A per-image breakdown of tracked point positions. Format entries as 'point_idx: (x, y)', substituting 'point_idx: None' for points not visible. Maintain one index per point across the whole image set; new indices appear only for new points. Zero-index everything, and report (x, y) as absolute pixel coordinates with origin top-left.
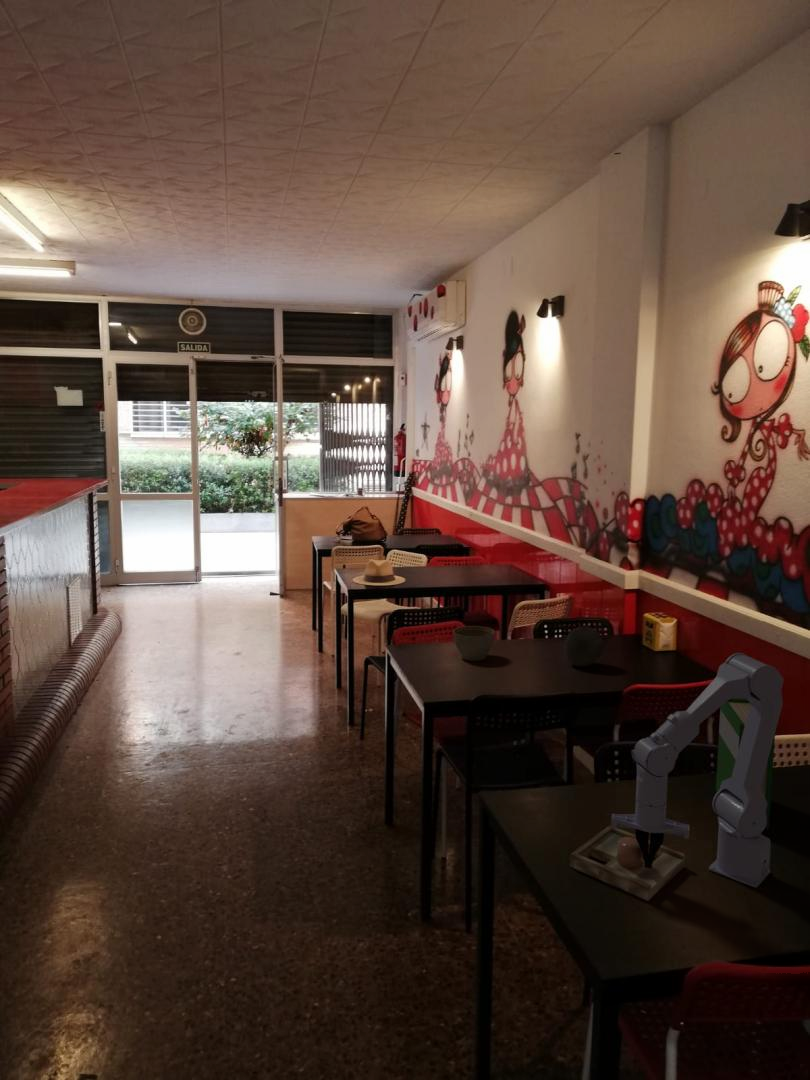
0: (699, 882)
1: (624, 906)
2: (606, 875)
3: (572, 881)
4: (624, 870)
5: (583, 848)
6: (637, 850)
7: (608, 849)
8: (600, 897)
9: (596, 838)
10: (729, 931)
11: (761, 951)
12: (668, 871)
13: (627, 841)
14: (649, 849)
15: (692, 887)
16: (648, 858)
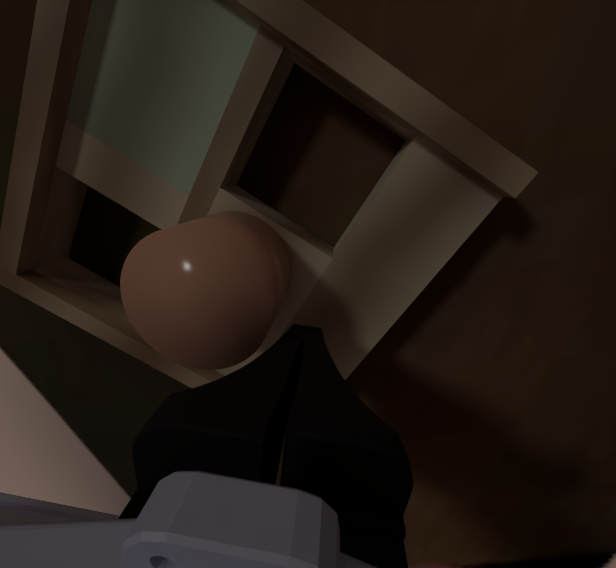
0: (518, 285)
1: None
2: None
3: (82, 342)
4: None
5: (21, 224)
6: (238, 360)
7: (133, 171)
8: None
9: (43, 98)
10: (505, 496)
11: (555, 547)
12: (396, 312)
13: (175, 284)
14: (302, 358)
15: (474, 321)
16: (299, 369)
